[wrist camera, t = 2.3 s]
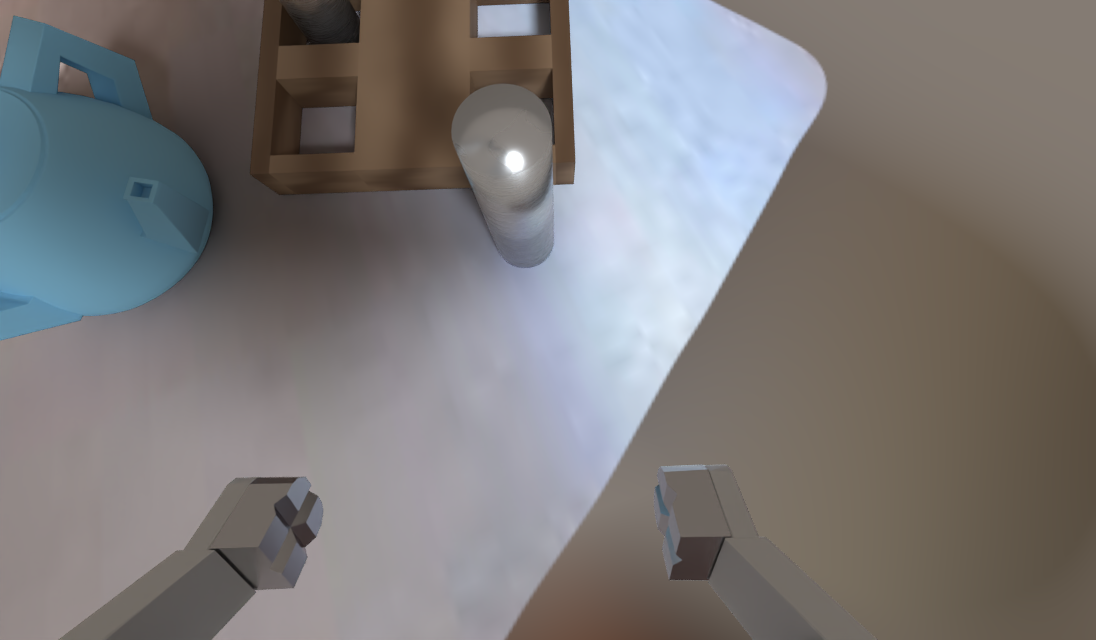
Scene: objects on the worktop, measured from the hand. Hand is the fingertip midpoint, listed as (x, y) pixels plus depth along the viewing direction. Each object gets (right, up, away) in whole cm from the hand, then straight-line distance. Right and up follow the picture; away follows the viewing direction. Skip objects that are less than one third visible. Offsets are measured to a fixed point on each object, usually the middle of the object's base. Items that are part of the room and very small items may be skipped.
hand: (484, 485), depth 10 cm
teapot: (-28, +10, +21) cm, 37 cm away
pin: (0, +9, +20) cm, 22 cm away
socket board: (-7, +21, +22) cm, 31 cm away
